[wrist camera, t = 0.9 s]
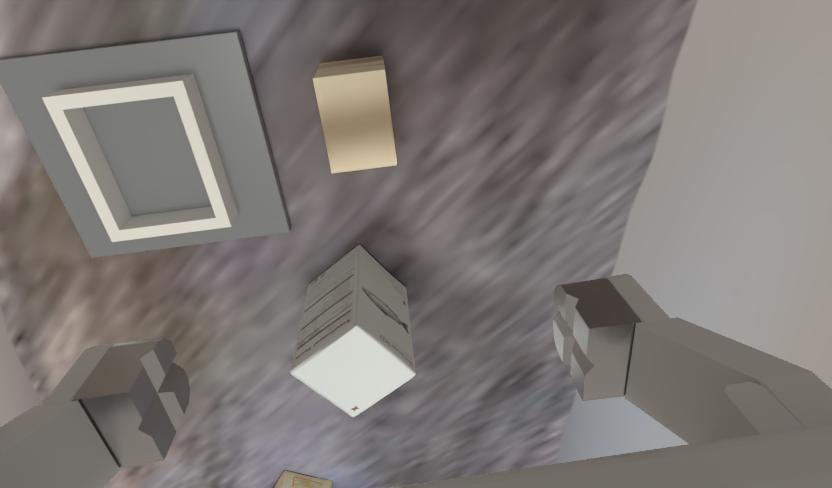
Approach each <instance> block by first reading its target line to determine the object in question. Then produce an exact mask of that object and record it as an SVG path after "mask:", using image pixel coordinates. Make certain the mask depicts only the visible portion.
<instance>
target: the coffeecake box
mask: <svg viewBox="0 0 832 488" xmlns="http://www.w3.org/2000/svg"><path fill="white" fill-rule="evenodd" d="M274 488H332V481H329V480H326V479H321V478H316V477H310V476H305V475H302V474H298V473H294V472H290V471H284V472H283V474H282V475H281V477H280V479H279V480H278V482H277V484H276V485H275V487H274Z"/></svg>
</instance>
